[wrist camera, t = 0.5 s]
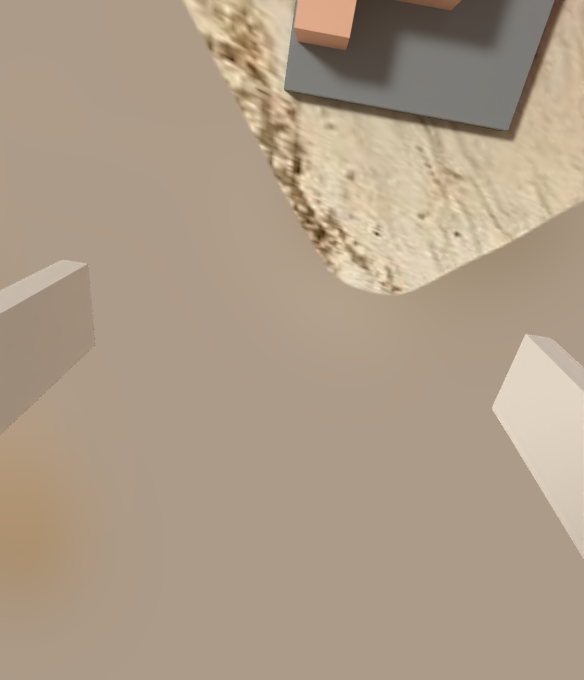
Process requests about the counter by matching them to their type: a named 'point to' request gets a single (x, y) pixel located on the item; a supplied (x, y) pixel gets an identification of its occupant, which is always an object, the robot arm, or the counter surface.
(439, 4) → the t block
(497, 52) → the mat
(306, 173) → the counter surface
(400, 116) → the counter surface
